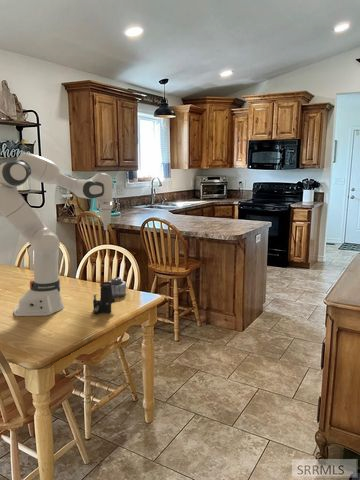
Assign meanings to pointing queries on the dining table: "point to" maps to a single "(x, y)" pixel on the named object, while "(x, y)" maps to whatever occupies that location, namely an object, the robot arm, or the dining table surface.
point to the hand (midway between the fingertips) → (105, 229)
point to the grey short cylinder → (119, 290)
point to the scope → (104, 299)
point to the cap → (116, 281)
